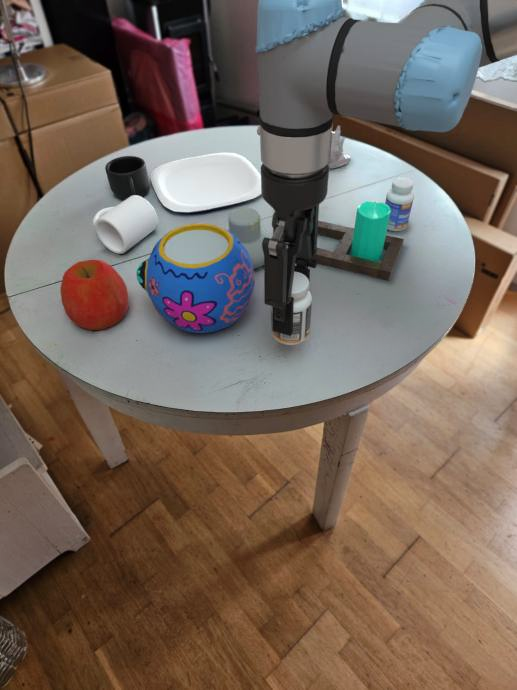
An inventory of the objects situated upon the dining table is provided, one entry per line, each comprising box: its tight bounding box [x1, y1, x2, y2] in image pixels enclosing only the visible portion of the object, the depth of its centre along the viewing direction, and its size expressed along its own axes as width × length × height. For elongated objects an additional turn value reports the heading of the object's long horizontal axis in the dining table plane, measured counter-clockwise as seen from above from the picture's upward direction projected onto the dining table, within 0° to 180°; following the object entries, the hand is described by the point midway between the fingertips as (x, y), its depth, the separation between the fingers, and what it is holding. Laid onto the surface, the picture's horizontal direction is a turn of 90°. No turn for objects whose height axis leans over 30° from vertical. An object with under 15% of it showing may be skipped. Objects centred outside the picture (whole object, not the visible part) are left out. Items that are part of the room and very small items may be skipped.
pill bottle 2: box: [384, 177, 415, 232], centre depth 96 cm, size 5×5×10 cm
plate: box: [149, 152, 262, 214], centre depth 112 cm, size 25×25×2 cm
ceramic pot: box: [136, 223, 256, 334], centre depth 77 cm, size 18×18×15 cm
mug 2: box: [92, 195, 159, 255], centre depth 96 cm, size 12×10×8 cm
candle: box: [349, 200, 391, 262], centre depth 88 cm, size 6×6×12 cm
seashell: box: [328, 125, 351, 170], centre depth 117 cm, size 10×12×9 cm
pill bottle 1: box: [270, 271, 313, 346], centre depth 67 cm, size 6×6×10 cm
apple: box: [60, 258, 129, 331], centre depth 79 cm, size 11×11×11 cm
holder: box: [288, 219, 405, 281], centre depth 93 cm, size 21×11×2 cm, turn 66°
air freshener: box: [227, 207, 272, 270], centre depth 89 cm, size 11×8×10 cm
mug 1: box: [104, 155, 150, 200], centre depth 108 cm, size 12×9×7 cm
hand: (291, 316), depth 68 cm, fingers closed on pill bottle 1, 6 cm apart
